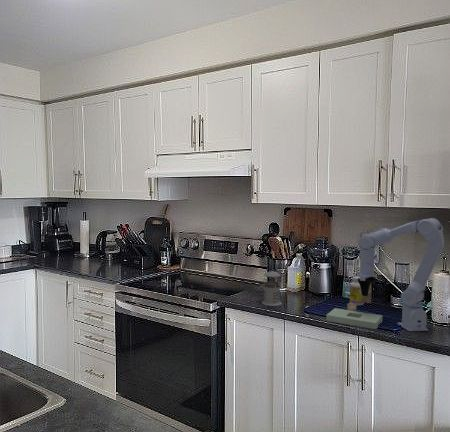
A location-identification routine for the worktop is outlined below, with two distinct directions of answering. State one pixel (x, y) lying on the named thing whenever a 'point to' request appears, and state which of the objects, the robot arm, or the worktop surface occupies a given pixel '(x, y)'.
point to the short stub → (351, 306)
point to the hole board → (354, 318)
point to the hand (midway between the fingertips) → (366, 294)
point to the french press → (272, 288)
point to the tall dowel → (366, 298)
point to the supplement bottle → (355, 292)
